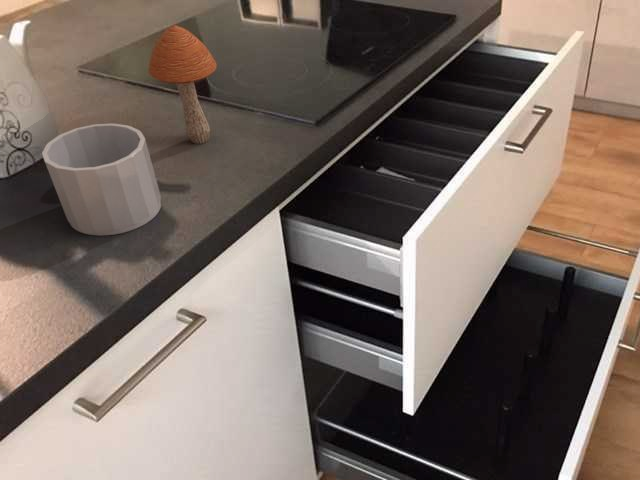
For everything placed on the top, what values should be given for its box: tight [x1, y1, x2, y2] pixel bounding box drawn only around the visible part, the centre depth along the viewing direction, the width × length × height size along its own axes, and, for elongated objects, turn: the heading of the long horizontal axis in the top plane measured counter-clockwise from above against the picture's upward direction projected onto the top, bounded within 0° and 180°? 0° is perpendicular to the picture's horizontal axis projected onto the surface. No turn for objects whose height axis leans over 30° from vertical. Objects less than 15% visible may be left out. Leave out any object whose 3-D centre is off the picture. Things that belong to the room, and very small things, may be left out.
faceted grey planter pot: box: [41, 122, 162, 237], centre depth 71 cm, size 10×10×8 cm
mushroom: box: [148, 24, 218, 144], centre depth 81 cm, size 8×8×15 cm
